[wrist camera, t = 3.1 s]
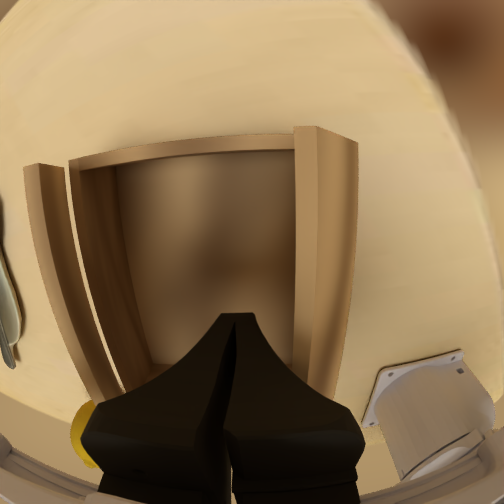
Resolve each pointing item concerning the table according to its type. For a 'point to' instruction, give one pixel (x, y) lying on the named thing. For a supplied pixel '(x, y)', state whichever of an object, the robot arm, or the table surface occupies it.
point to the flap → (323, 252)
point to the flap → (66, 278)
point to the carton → (187, 244)
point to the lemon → (77, 430)
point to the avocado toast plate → (8, 315)
